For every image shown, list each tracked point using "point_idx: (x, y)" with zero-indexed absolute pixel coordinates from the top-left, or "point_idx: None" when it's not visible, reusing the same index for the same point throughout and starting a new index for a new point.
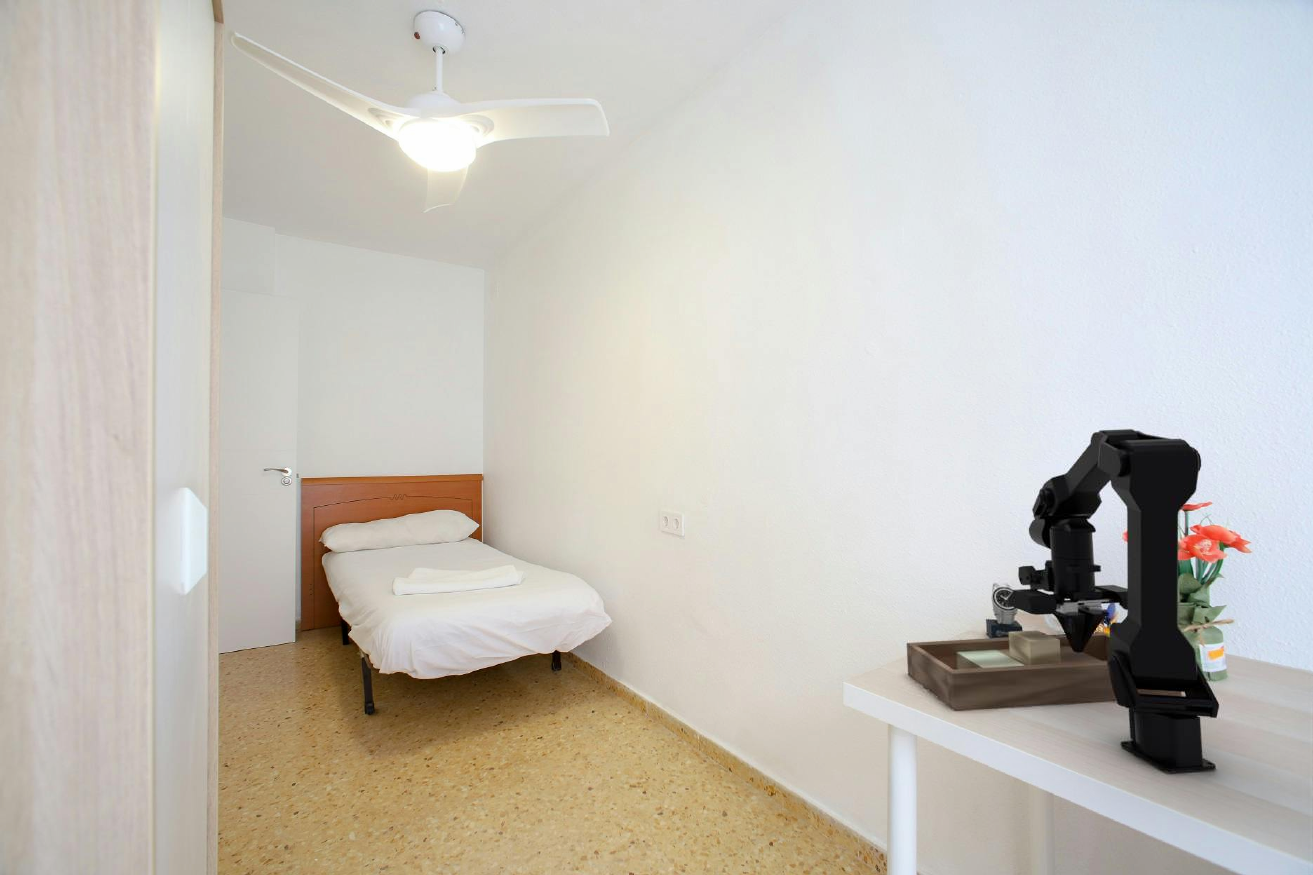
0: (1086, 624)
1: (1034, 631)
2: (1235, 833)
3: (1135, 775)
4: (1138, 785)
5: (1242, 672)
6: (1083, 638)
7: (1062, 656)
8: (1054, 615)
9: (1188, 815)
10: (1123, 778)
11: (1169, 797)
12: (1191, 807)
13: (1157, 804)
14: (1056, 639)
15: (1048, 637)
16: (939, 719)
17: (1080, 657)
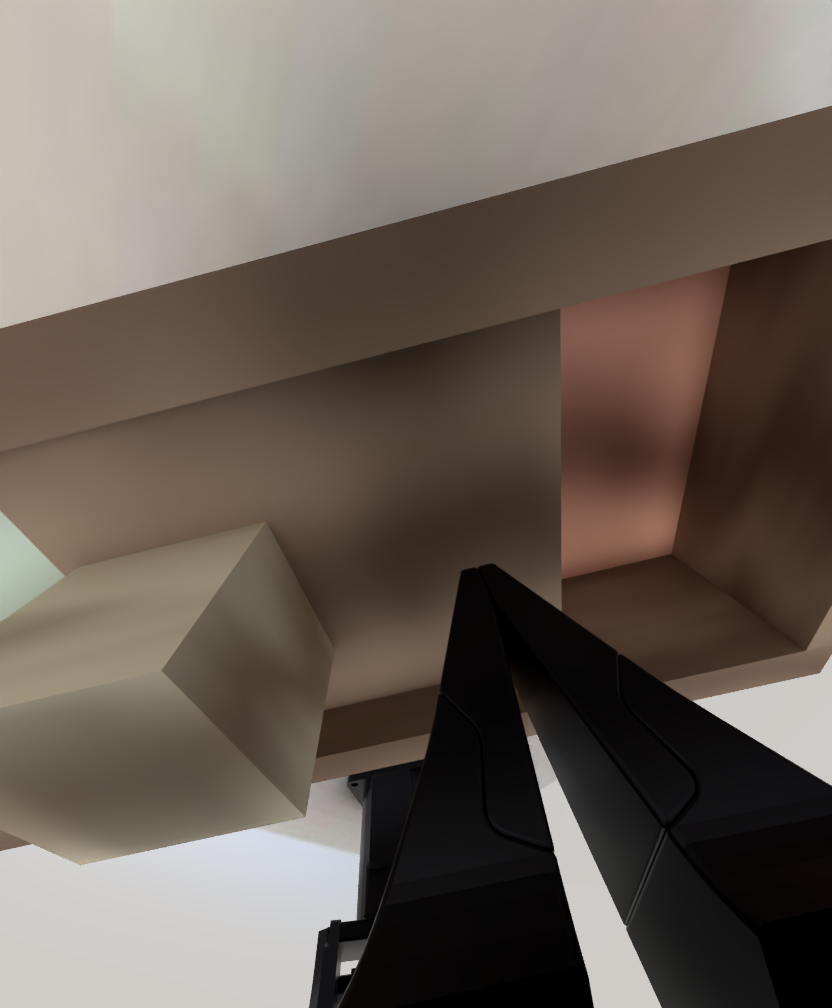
0: (624, 902)
1: (127, 706)
2: None
3: (327, 817)
4: (319, 829)
5: None
6: (528, 709)
7: (397, 542)
8: (340, 1004)
9: (345, 851)
10: (307, 823)
11: (344, 836)
12: (357, 843)
13: (321, 846)
14: (284, 815)
15: (236, 796)
16: None
17: (488, 546)
